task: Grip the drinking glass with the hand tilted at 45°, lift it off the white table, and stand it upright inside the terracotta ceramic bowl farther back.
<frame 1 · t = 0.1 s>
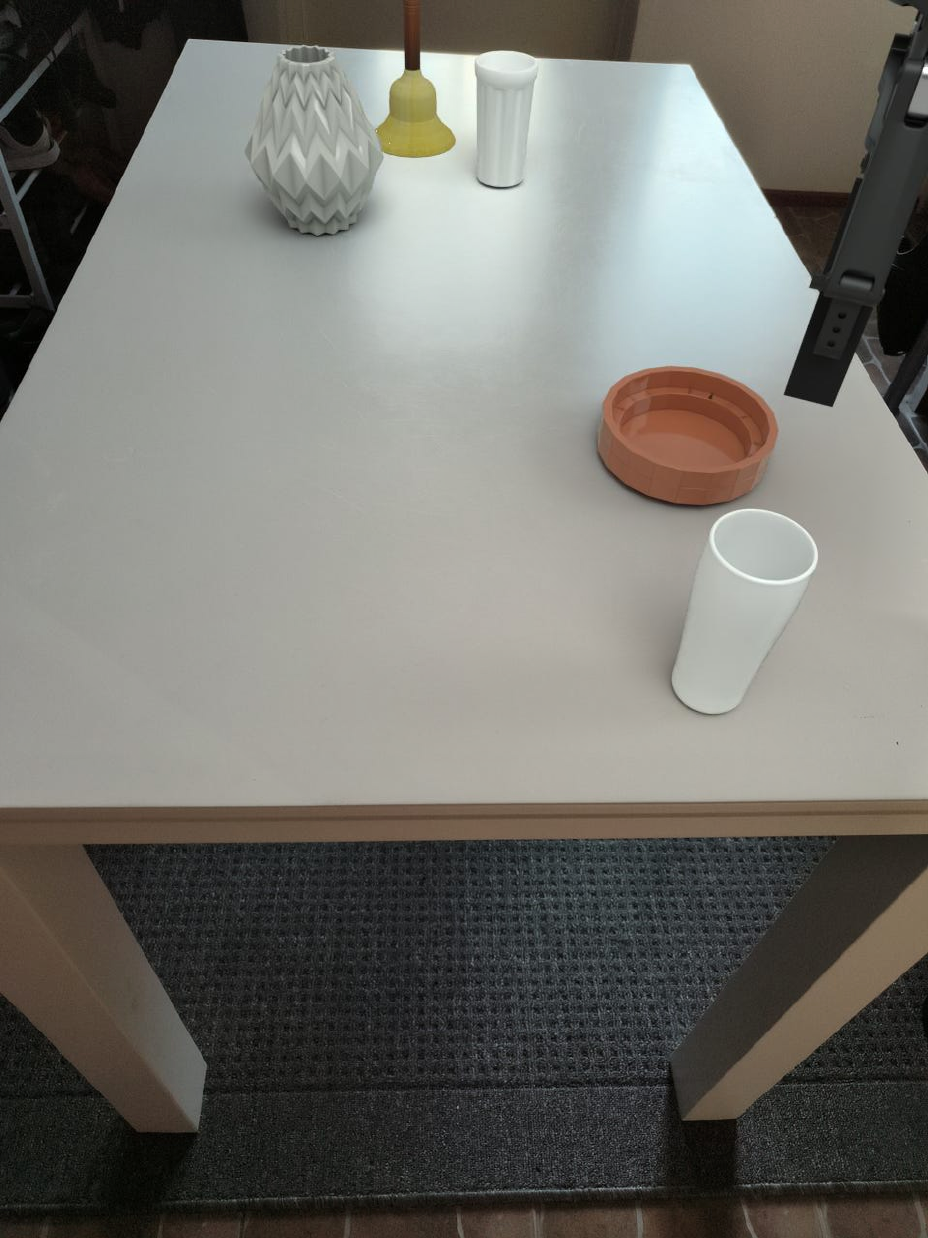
hand: (825, 338, 54), 24 cm above the table, tool pointing down, fingers open, 13 cm apart
bowl: (679, 454, 83), on the table
vase: (322, 222, 112), on the table
handbell: (413, 140, 129), on the table
drinking glass: (705, 689, 66), on the table
cup: (499, 180, 121), on the table
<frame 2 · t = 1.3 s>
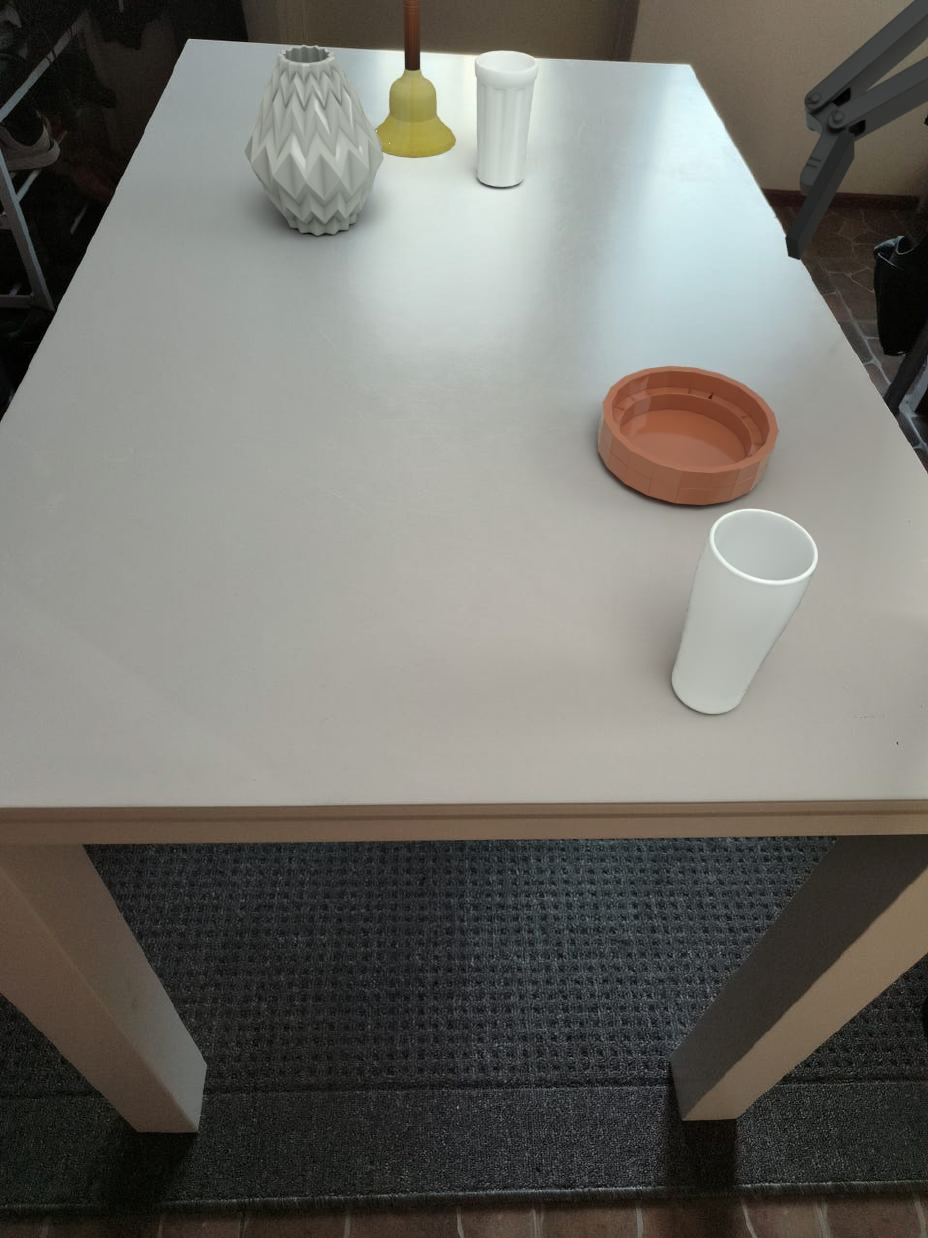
hand: (903, 287, 51), 27 cm above the table, tool tilted 45°, fingers open, 13 cm apart
nothing on the table moved.
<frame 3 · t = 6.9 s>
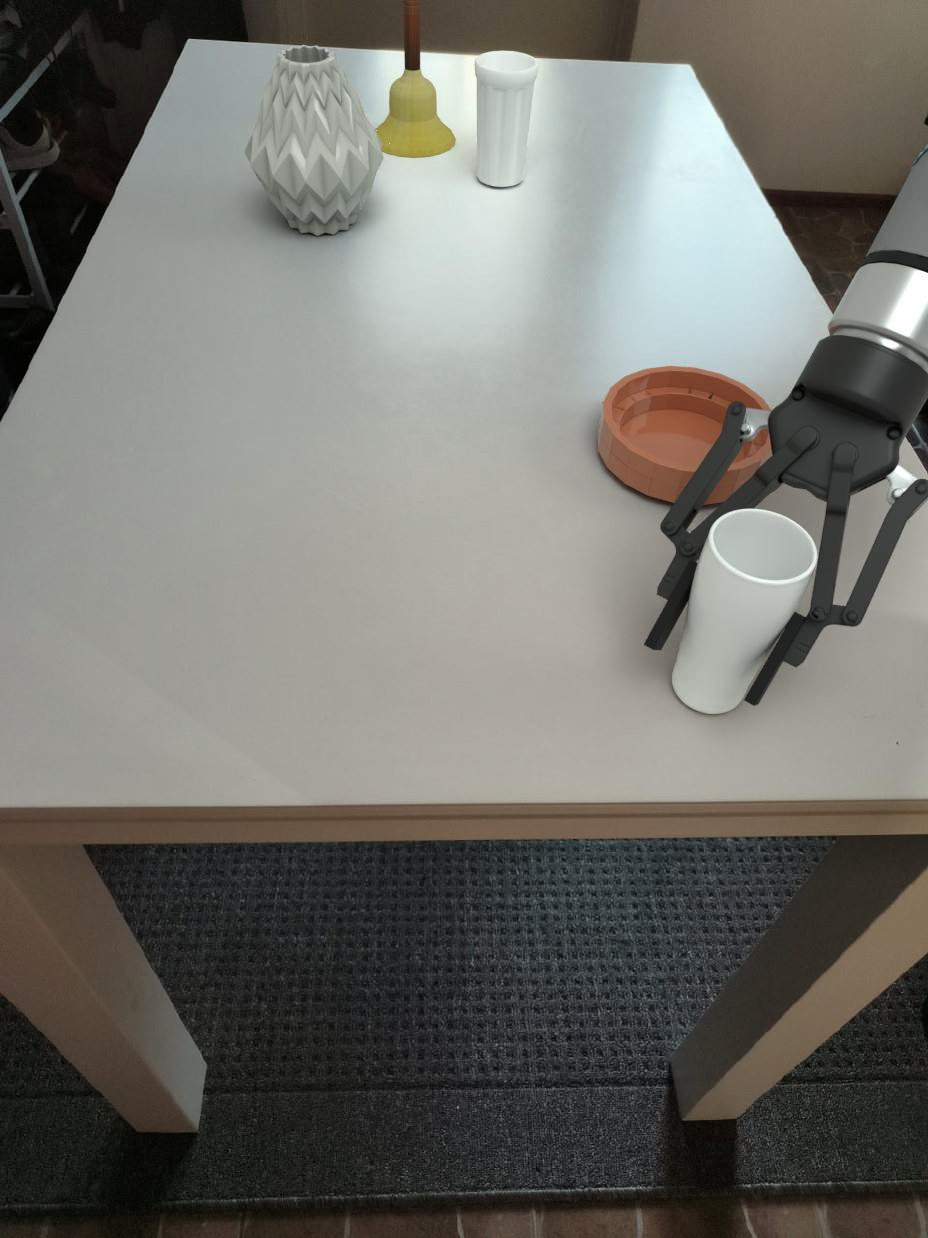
hand: (701, 673, 60), 5 cm above the table, tool tilted 45°, fingers closed on drinking glass, 7 cm apart
drinking glass: (705, 689, 66), on the table, touching gripper
everything else where it was.
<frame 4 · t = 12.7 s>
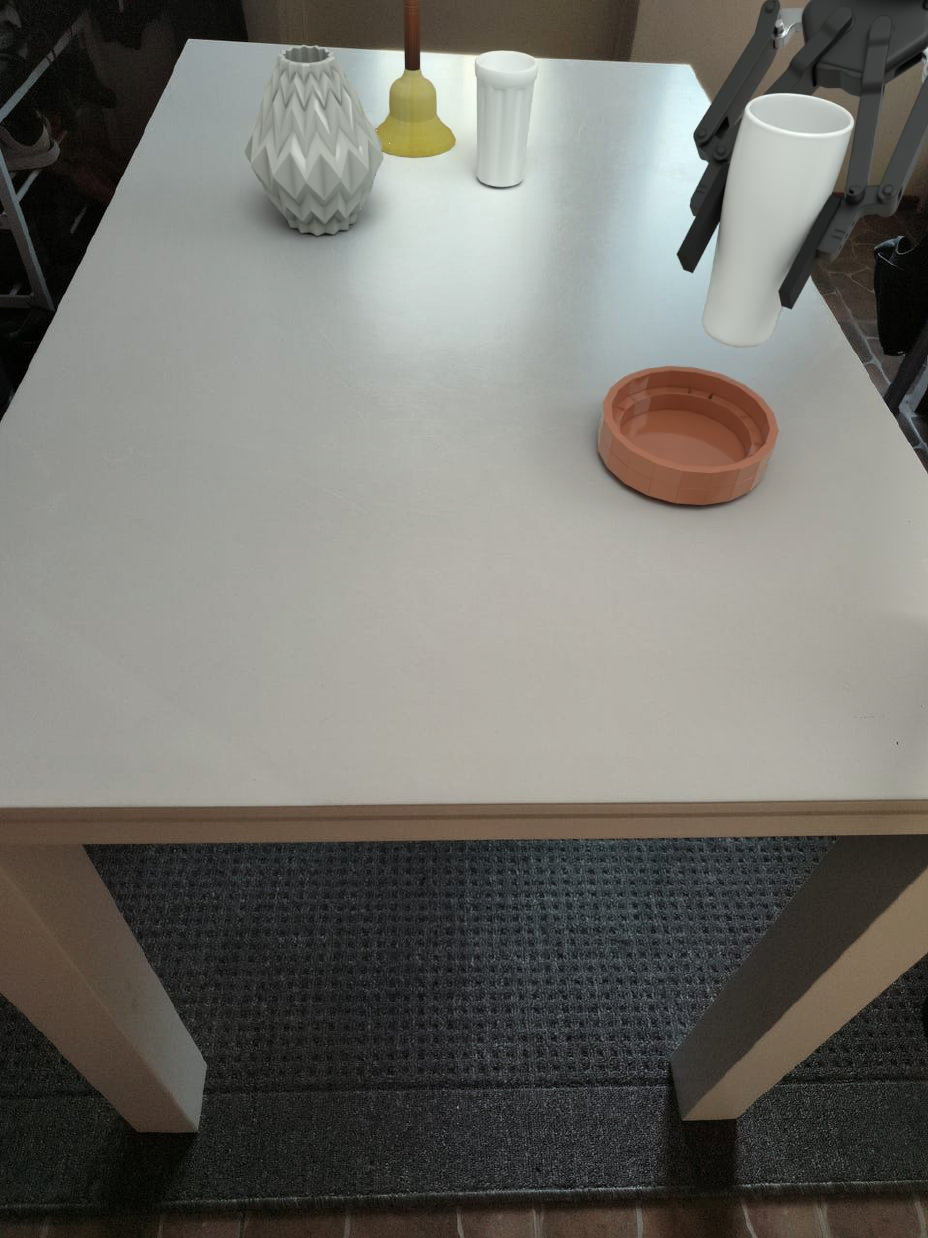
hand: (734, 281, 60), 23 cm above the table, tool tilted 45°, fingers closed on drinking glass, 7 cm apart
drinking glass: (735, 333, 66), point 17 cm above the table, touching gripper
everything else where it was.
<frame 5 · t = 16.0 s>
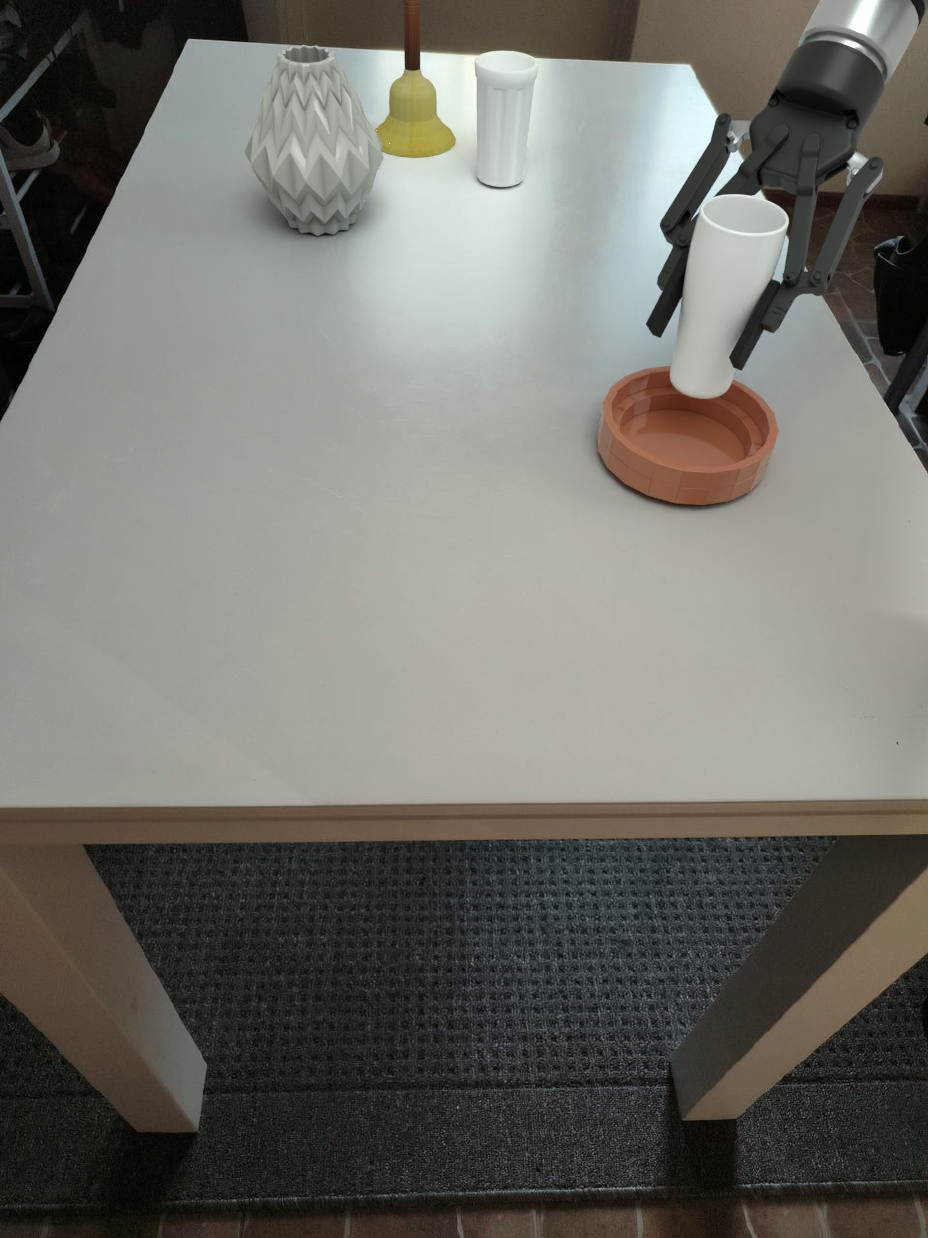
hand: (693, 346, 72), 13 cm above the table, tool tilted 45°, fingers closed on drinking glass, 7 cm apart
drinking glass: (698, 385, 78), point 8 cm above the table, touching gripper
everything else where it was.
when the fingers open (6 cm above the table, at t = 18.3 s): drinking glass stays where it is, resting on bowl.
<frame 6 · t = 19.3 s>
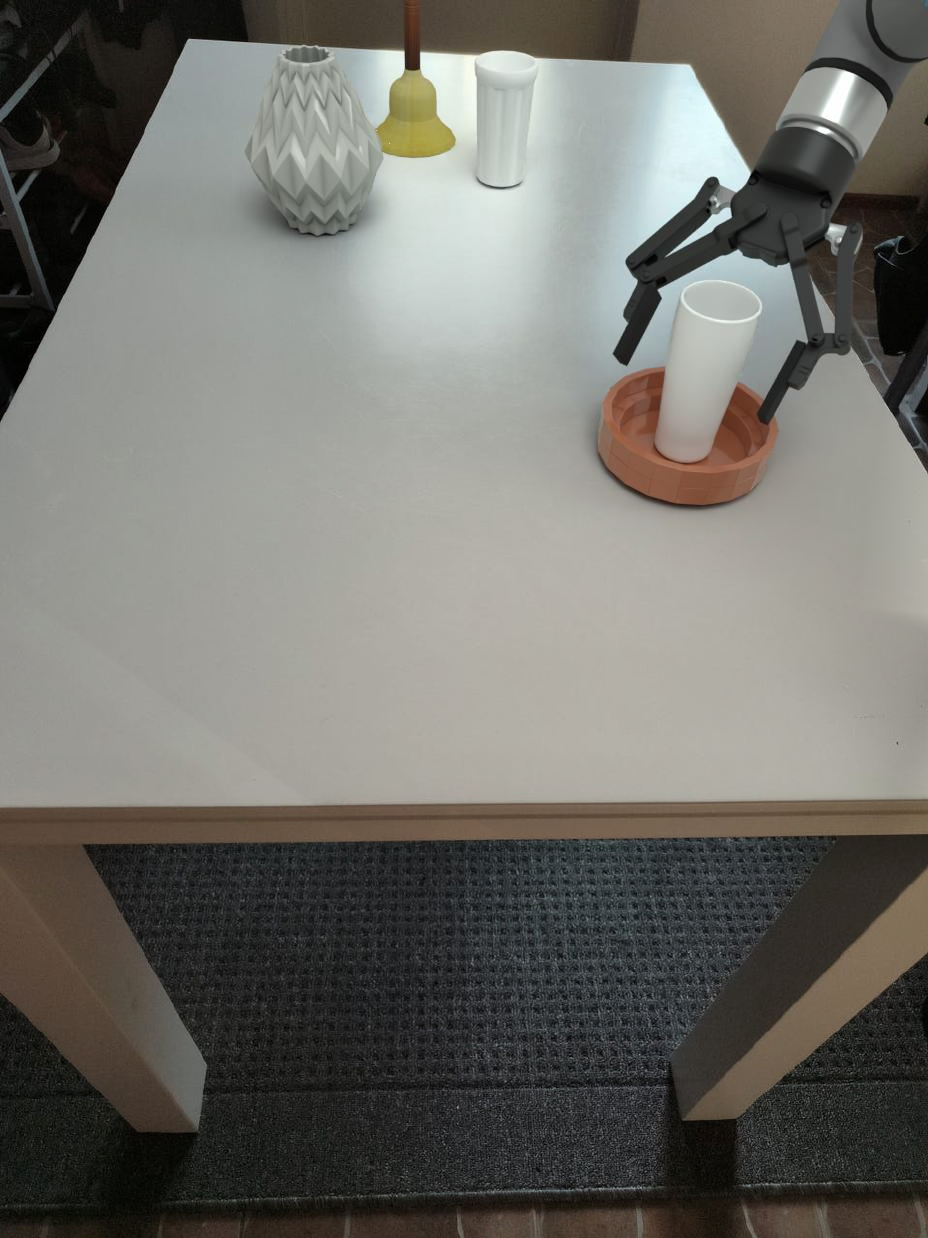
hand: (688, 389, 76), 9 cm above the table, tool tilted 45°, fingers open, 13 cm apart
drinking glass: (681, 449, 83), point 1 cm above the table, touching bowl
everything else where it was.
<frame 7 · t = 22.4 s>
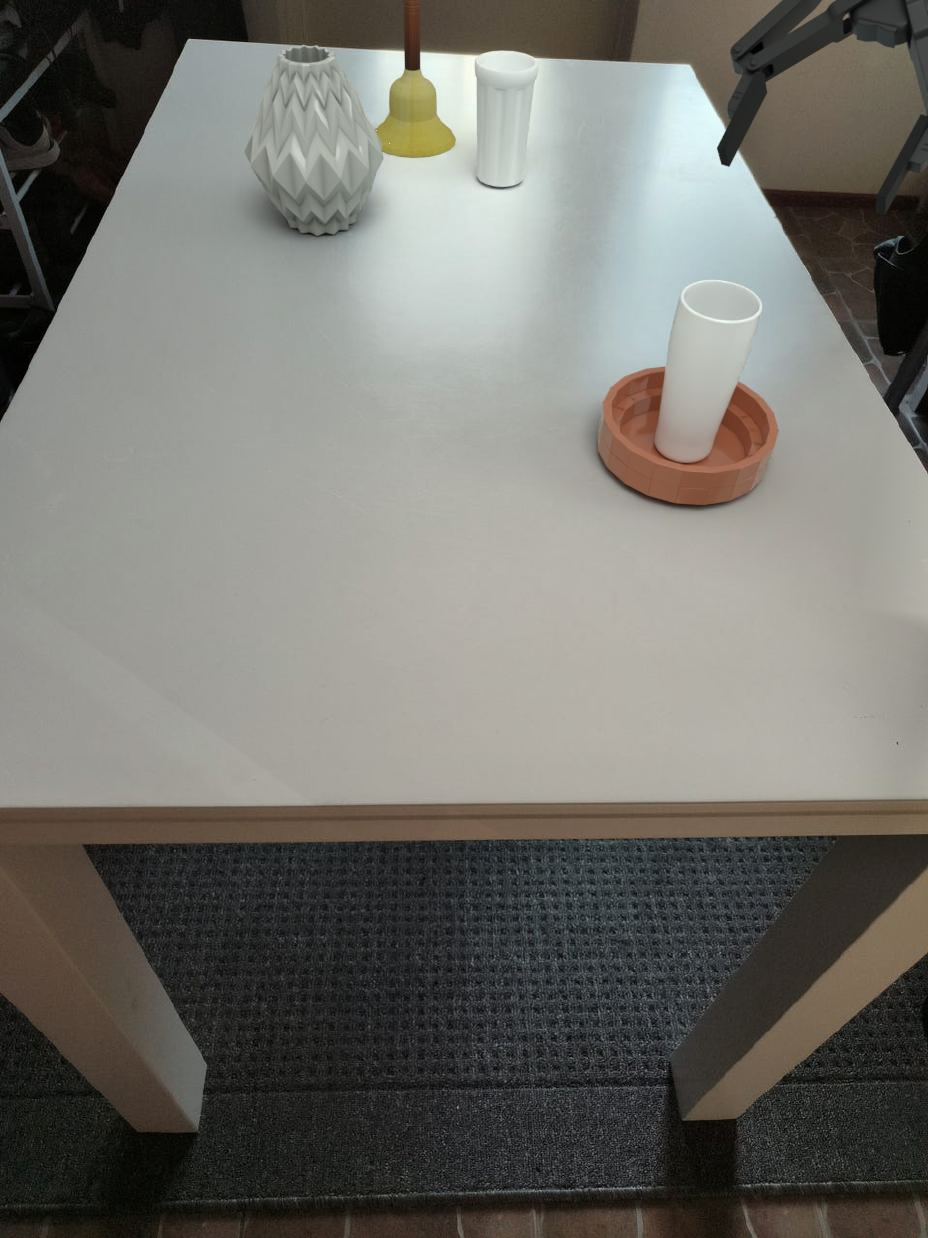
hand: (798, 181, 72), 22 cm above the table, tool tilted 45°, fingers open, 13 cm apart
nothing on the table moved.
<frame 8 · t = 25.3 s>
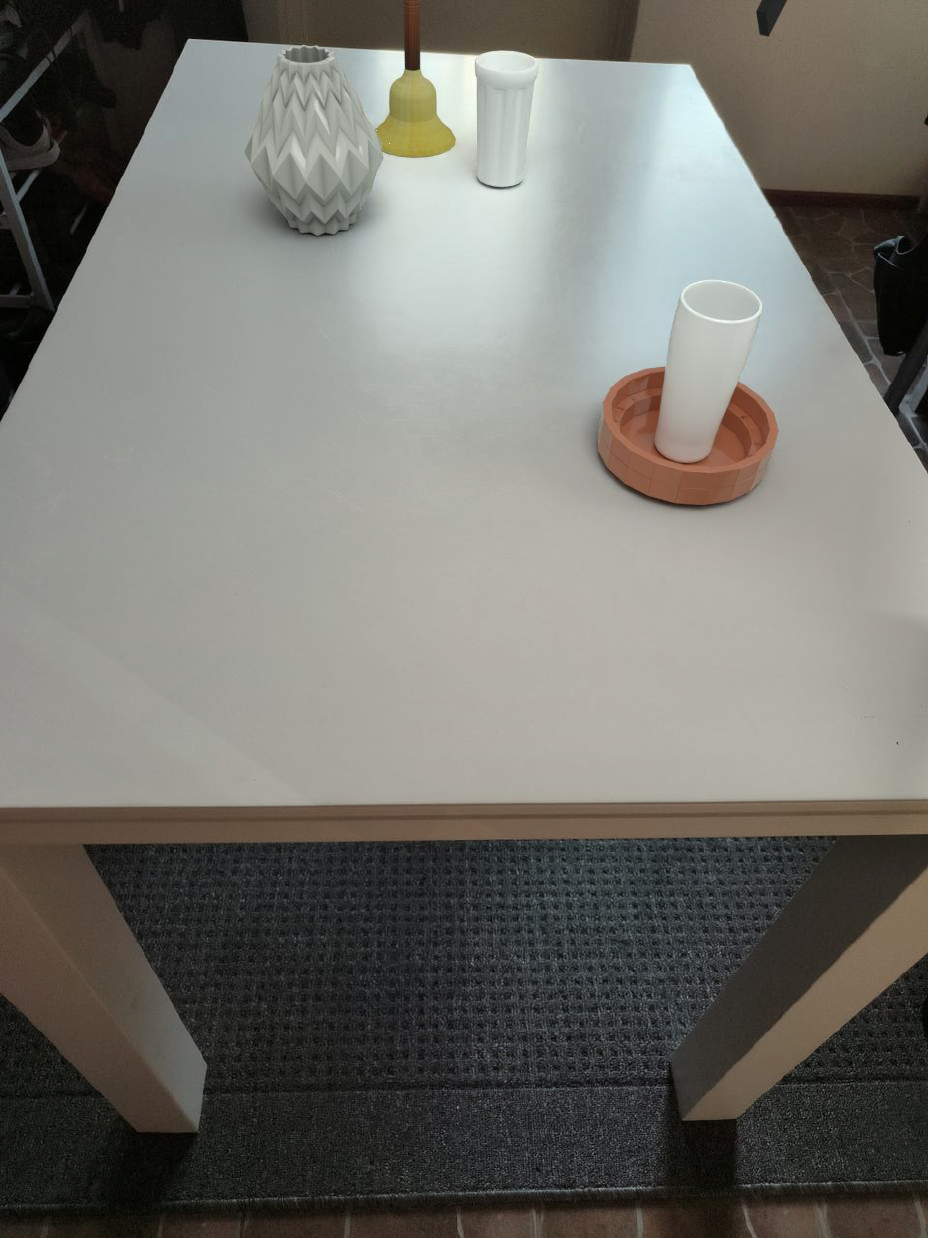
hand: (848, 45, 65), 32 cm above the table, tool tilted 45°, fingers open, 13 cm apart
nothing on the table moved.
at the end: drinking glass inside the target area in the bowl (0.1 cm from its centre), point 0.6 cm above the bowl's base; drinking glass tilted 0°; the gripper is holding nothing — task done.
